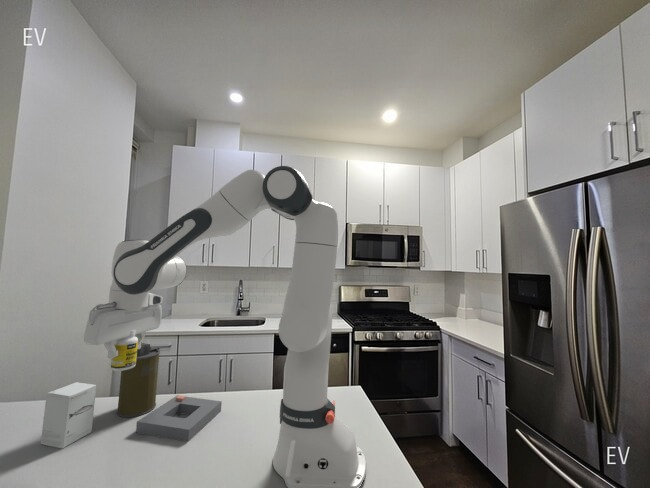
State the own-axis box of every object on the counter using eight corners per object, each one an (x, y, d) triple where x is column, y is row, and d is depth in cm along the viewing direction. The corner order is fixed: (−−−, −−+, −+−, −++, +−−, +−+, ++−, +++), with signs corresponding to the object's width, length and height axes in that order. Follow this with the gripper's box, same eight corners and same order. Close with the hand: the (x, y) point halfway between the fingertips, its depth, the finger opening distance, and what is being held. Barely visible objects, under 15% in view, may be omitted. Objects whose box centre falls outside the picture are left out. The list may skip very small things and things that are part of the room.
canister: (132, 420, 82) (138, 351, 84) (108, 413, 86) (114, 346, 87) (164, 404, 93) (169, 342, 94) (141, 398, 96) (146, 338, 98)
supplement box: (62, 449, 69) (68, 396, 70) (39, 444, 71) (45, 392, 72) (92, 432, 76) (97, 384, 77) (71, 428, 78) (76, 381, 79)
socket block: (220, 411, 90) (221, 398, 90) (188, 441, 74) (189, 426, 74) (176, 404, 92) (177, 392, 93) (135, 433, 77) (137, 418, 77)
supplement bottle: (126, 372, 71) (129, 332, 71) (105, 371, 71) (108, 331, 72) (140, 364, 76) (143, 327, 77) (120, 363, 76) (124, 326, 77)
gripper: (102, 306, 64) (96, 368, 63) (167, 296, 84) (163, 344, 83) (79, 304, 65) (73, 366, 64) (148, 295, 85) (145, 342, 84)
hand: (124, 353), depth 74 cm, fingers closed on supplement bottle, 5 cm apart
